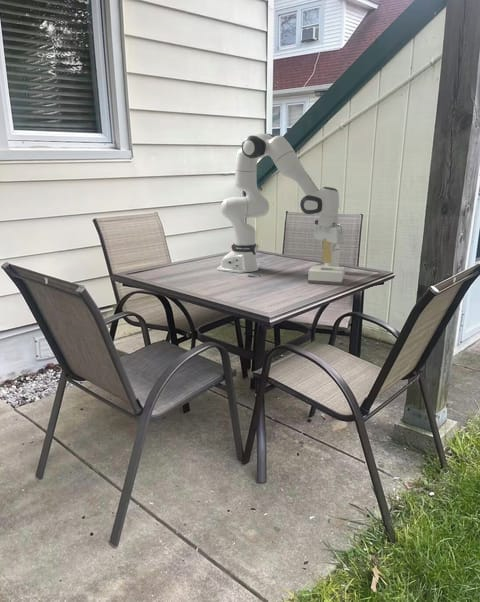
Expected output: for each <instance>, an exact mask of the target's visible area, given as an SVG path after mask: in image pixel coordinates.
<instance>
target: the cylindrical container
mask: <svg viewBox="0 0 480 602" xmlns="http://www.w3.org/2000/svg"><path fill="white" fill-rule="evenodd" d="M340 247H341V244H336V247H335V249H334V252H333V253H332V263H324V266H333V267H340Z"/></svg>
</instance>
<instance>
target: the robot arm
mask: <svg viewBox="0 0 480 602" xmlns="http://www.w3.org/2000/svg"><path fill="white" fill-rule="evenodd" d="M236 153H237V154H236V157H235V167H234V184H235V186H236V187H237V188H238V189H239V190H241V191H243V192H244V193H245V196H232V197H227V198H224V199H223V201H222V202H221V203H220V211H221V214H222V216H224V217H225V218H226V219H227V220H228V221H229V222H230V223H231V224H232V227H233V230H234V243H233V244H232V245H231V246H230V248H231V250H230V252H228V253H227V254H226V255H225V256H222V259H221V264H220V265H219V266H217V271H220V272H221V271H222V272H228V273H229V272H230V273H238V274H239V273H240V274H242V273H243V274H244V273H250V272H257V271H258V270H259V266H258V261H257V250H258V249H257V243H256V241H257V239H256V229H255V227H254V226H252V225H250V224H249V223H246V222H245V219H249V218H250V219H251V218H252V219H253V218H262V217H265V216H266V215H267V214H268V212H269V211H270V204H269V203H270V202H269V201H268V199H267V198H265V197H264V195H262V193H261V192H260V190H259V187H258V181H257V179H258V178H257V175H258V173H257V172H258V171H257V170H258V168H257V167H258V161H259V159H261V158H265V157H266V158H267V157H269V158H271V160H272V161H273V163H274V165H275V167H276V169H277V170H278V171H279V172H280V173H281V175H283V176H284V177H286V178H289V179H292V181H294V182H296V183H297V184H298V185H299V187H300V189H301V191H302V192H303V193H304V194H305V196H303V197H302V198H301V200H300V203H299V204H300V206H299V207H300V210H301V211H302V213H304V214H306V215H308V216H309V215H310V216H311V215H318V214H319V217H318V218H317V219H314V220H313V221H314V222H313V224H314V229H313V231H314V233H313V236H314V239H315V240H316V241H317V240H318V241H320V246H321V250H322V251H323V238H326V241H327V242H330V243H331V245H332V246H331V248H330V252H334V249H335V247H336V244H340V245H341V244H343V242H344V231H343V228H342V225H341V223H339V217H340V215H339V208H340V193H339V190H338V189H337V188H335V187H329V186H323V187H321V188H320V189H318V187H317V186H316V184H315V182H314V181H313V180H312V178H311V176H309V174H308V172H307V171H306V169H305V168H304V166H303V164H302V162H301V160H300V159H299V156H298V155H297V153H296V152H295V150H294V148H293V147H292V145H291V144H290V143H289V141H288V140H287V139H286V138H285V137H284V136H283V135H273V134H271V133H258V134H255V135H249V136H247V137H245V138H244V139H243V141H242V143H241V148H239V149H238V150H237V152H236Z"/></svg>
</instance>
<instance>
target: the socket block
mask: <svg viewBox="0 0 480 602" xmlns="http://www.w3.org/2000/svg"><path fill="white" fill-rule="evenodd" d="M345 270H346V267H344V266H339V267H333V266H325V265H314V264H313V265H312V266H311V267H310V268H309V270H308V273H307V274H308V276H307V278H308V279H307V281H308V282H307V283H308V284H318V285H319V284H320V285H321V284H322V285H335V286H342V285H343V283H344V280H345V272H346V271H345Z"/></svg>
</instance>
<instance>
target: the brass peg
mask: <svg viewBox="0 0 480 602" xmlns="http://www.w3.org/2000/svg"><path fill="white" fill-rule="evenodd" d="M331 246H332V245H331V243H330V242H327V241H326V238H323V250H322V263H323V264H325V263H332V253H333V252H330V248H331Z"/></svg>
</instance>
